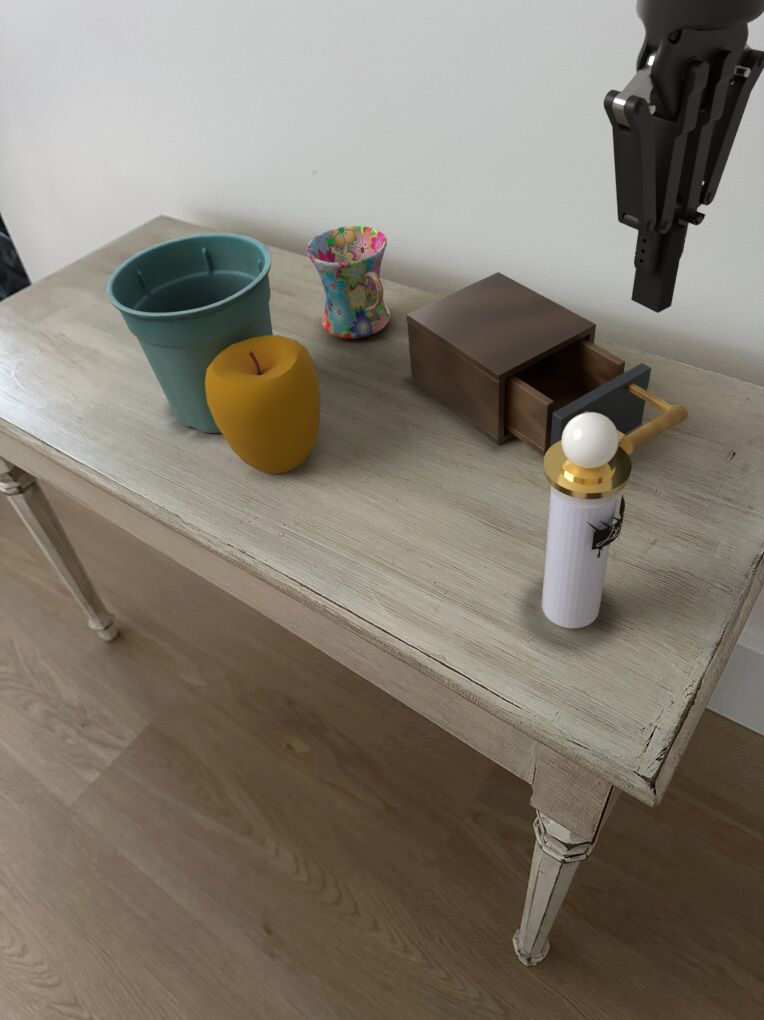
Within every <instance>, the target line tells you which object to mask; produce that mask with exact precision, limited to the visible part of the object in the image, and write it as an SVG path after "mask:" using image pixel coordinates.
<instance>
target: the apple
mask: <svg viewBox="0 0 764 1020" xmlns="http://www.w3.org/2000/svg"><path fill="white" fill-rule="evenodd" d="M319 381H320V380H319V377H318V374H317V371H316V366H315V362H314V360H313V357H312V355H311V354H310V352H309V350H308V349H307V348H306V347H305V346H304V345H303V344H301V342H299V341H298V340H296V339H294V338H290V337H286V336H283V335H280V334H279V335H278V334H273V335H265V336H260V337H254V338H250V339H247V340H244V341H241V342H238V343H235V344H232V345H230V346H229V347H228V348H226V349H225V350H223V351H222V352H221V353H220V354H219V355H217V357H216V358H215V359H214V360H213V362H212V363H211V364H210V365H209V367H208V368H207V371H206V379H205V388H206V396H207V403H208V406H209V408H210V411H211V413H212V415H213V418H214V420H215V423H216V425H217V426H218V428H219V430H220V431H221V432H220V433H221V435H222V436H223V437H224V439H225V440H226V442H227V444H228V445H229V446H230V448H231V450H232V451H233V452H234V454H235V455H236V456H238V458H239V459H241V461H242V462H244V463H245V464H246V465H248V466H249V467H251V468H253V469H255V470H257V471H259V472H262V473H265V474H268V475H269V474H270V475H276V474H281V473H282V474H283V473H287V472H289V471H291V470H293V469H295V468H297V467H300V465H302V464H303V463H304V462H305V461H306V460H308V458H309V456H310V455H311V454H312V452H313V449H314V448H315V447H316V443H317V439H318V436H319V431H320V421H321V387H320V382H319Z"/></svg>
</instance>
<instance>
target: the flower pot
mask: <svg viewBox="0 0 764 1020" xmlns="http://www.w3.org/2000/svg"><path fill="white" fill-rule="evenodd" d="M271 267H272V255H271V252H270V250H269V248H268V247H267V246H266V245H265V244H264V243H263V242H261V241H259V240H258V239H256V238H254V237H251V236H248V235H244V234H240V233H235V232H206V233H196V234H190V235H185V236H180V237H176V238H173V239H168V240H166V241H162V242H159V243H157V244H153V245H152V246H149V247H147V248H145V249H143V250H141V251H139V252H136V254H134V255H132V256H130V257H129V258H127V259H126V260H125V261H123V262H122V263H121V264H120V265H119V266H118V267H117V268H116V269H115V270H114V272H112V274H111V275H110V277H109V279H108V281H107V282H106V283H107V284H106V288H105V293H106V297H107V299H108V300H109V302H110V303H111V305H112V306H113V307H114V308H115V309H117V310H118V311H119V312H120V314H121V316H122V318H123V320H124V322H125V324H126V326H127V328H128V330H129V332H130V333H131V334H132V335H133V336H134V337H136V339H137V341H138V343H139V345H140V347H141V349H142V351H143V353H144V355H145V357H146V359H147V361H148V364H149V365H150V367H151V369H152V371H153V373H154V375H155V377H156V379H157V381H158V383H159V385H160V387H161V389H162V391H163V393H164V394H163V395H164V396H165V398H166V399H167V402H168V404H169V406H170V408H171V410H172V412H173V414H174V416H175V418H176V420H177V421H178V422H179V423H180V424H181V425H182V426H184V427H185V428H190V427H191V428H194V429H196V430H198V431H199V432H201V433H205V434H206V433H207V434H219V433H221V431H220V430H219V428H218V426H217V425H216V423H215V420H214V418H213V415H212V413H211V411H210V408H209V406H208V403H207V396H206V388H205V379H206V371H207V368H208V367H209V365H210V364H211V363H212V362H213V360H214V359H215V358H216V357H217V355H219V354H220V353H221V352H222V351H223V350H225V349H226V348H228V347H229V346H230V345H232V344H235V343H238V342H241V341H244V340H247V339H250V338H254V337H260V336H265V335H274V333H273V325H272V317H271V308H270V302H271V301H270V300H271V296H272V295H271V285H270V278H269V276H270V275H269V273H270V271H271Z"/></svg>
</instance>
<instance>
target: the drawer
mask: <svg viewBox="0 0 764 1020" xmlns="http://www.w3.org/2000/svg"><path fill="white" fill-rule="evenodd" d="M625 368H626V361H625V360H624V359H622V358H620V357H619V356H617V355H615V354H613V353H612V352H610V351H608V350H607V349H605V348H602V347H600V345H597V344H595V342H594V343H592V342H590V341H588V340H586V339H585V338H582V339H580V340H578V341H576V342H574V343H572V344H570V345H568V346H566V347H564V348H563V349H561V350H559V351H557V352H555V353H553V354H551V355H549V356H547V357H546V358H544V359H542V360H540V361H538V362H536V363H534V364H532V365H530V366H528V367H527V368H525V369H523V370H521V371H519V372H517V373H515V374H513V375H511V376H510V377H508V378H506V379H505V406H504V428H505V429H506V430H508V431H509V432H511V433H512V434H513V435H515V436H514V437H516V438H518V439H519V440H520V441H521V442H524V444H526V445H527V446H529V447H530V448H531V449H532V450H534V451H535V452H537V453H539V454H540V455H541V456H543V457H544V456H545V454H546V452H547V451H548V449H549V448H550V447H551V446H552V445H554V444H555V443H557V442H559V441H561V438H562V433H563V430H564V428H565V426H566V425H567V424H568V422H569V421H570V420H571V419H572V418H574V417H576V416H577V415H579V414H582V413H587V412H595V413H599V414H602V415H604V416H606V417H607V418H609V419H610V420H611V421H612V422H613V424H614V425H615V427H616V429H617V431H618V435H619V446H620V447H621V448H622V449H623V450H625V451H626V453H627V454H628V455H631V454H632V453H634V452H636V451H638V450H639V449H640V448H643V447H644V446H646V445H647V444H649V443H650V442H652V441H654V440H655V439H657V438H658V437H660V436H663V434H666V432H668V431H670V430H671V429H673V428H675V427H677V426H678V425H679V424H681V423H683V422H685V421H686V420H688V418H689V416H690V415H689V410H688V409H687V407H686V406H685V405H683V404H677V405H675V406H674V405H672V404H670V403H668V402H666V401H664V400H663V399H661V398H660V397H659V396H656V395H655V394H653V393H651V392H649V391H648V389H649V385H650V380H651V379H650V378H651V374H652V367H651V366H649V365H647V364H645V363H643V362H641V363H639V364H637V365H635V366H634V367H632V368H630V369H629V370H626V371H625ZM646 403H649V404H650V405H652V406H653V407H655V408H657V409H659V410H661V411H662V412H663V413H661V414H659V415H658V416H656V417H655V418H653V419H651V420H650V421H648V422H647V423H645V424H643V419H644V413H645V406H646ZM642 424H643V425H642Z"/></svg>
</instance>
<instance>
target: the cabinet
mask: <svg viewBox="0 0 764 1020" xmlns="http://www.w3.org/2000/svg"><path fill="white" fill-rule="evenodd" d="M406 325H407V336H408V337H407V339H408V352H409V360H410V361H409V362H410V375H411V382H412V383H413V384H415V385H416V386H417V387H419V388H420V389H421V390H423V391H424V392H425V393H427V394H428V395H429V396H431V397H432V398H433V399H435V400H436V401H437V402H439V403H440V404H442V405H443V406H444V407H445V408H446V409H448V410H449V411H451V412H452V413H454V414H455V415H456V416H457V417H459V418H460V419H462V420H463V421H464V422H466V423H467V424H469V425H470V426H471V427H472V428H473V429H475V430H476V431H478V432H479V433H481V434H482V435H483V436H485V437H486V438H488V439H489V440H490V441H492V443H494V444H495V445H497V446H500V445H501V444H503V443H505V442H506V441H509V440H510V439H512V438H514V437H516V436H515V435H513V434H512V433H511V432H509V431H508V430H506V429H505V428H504V406H505V379H506V378H508V377H510V376H511V375H513V374H515V373H517V372H519V371H521V370H523V369H525V368H527V367H528V366H530V365H532V364H534V363H536V362H538V361H540V360H542V359H544V358H546V357H547V356H549V355H551V354H553V353H555V352H557V351H559V350H561V349H563V348H564V347H566V346H568V345H570V344H572V343H574V342H576V341H578V340H580V339H582V338H585V339H586V340H588V341H590V342H592V343H594V344H595V340H596V339H595V338H596V331H597V324H596V323H595V322H593V321H590V320H589V319H587V318H585V317H583V316H581V315H579V314H578V313H576V312H574V311H572V310H570V309H568V308H566V307H564V306H563V305H561V304H559V303H557V302H555V301H553V300H552V299H550V298H548V297H546V296H544V295H542V294H540V293H539V292H536V291H535V290H533V289H531V288H529V287H528V286H526V285H524V284H522V283H520V282H518V281H516V280H514V279H512V278H510V277H509V276H508V275H505V274H503V273H501V272H500V271H497V272H495V273H493V274H491V275H488V276H486V277H485V278H482V279H480V280H478V281H475V282H473V283H472V284H469V285H467V286H465V287H463V288H460V289H458V290H456V291H454V292H452V293H450V294H448V295H446V296H443V297H441V298H439V299H437V300H435V301H433V302H430V303H428V304H426V305H423V306H422V307H420V308H417V309H416V310H413V311H411V312H409V313H407V314H406Z"/></svg>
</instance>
